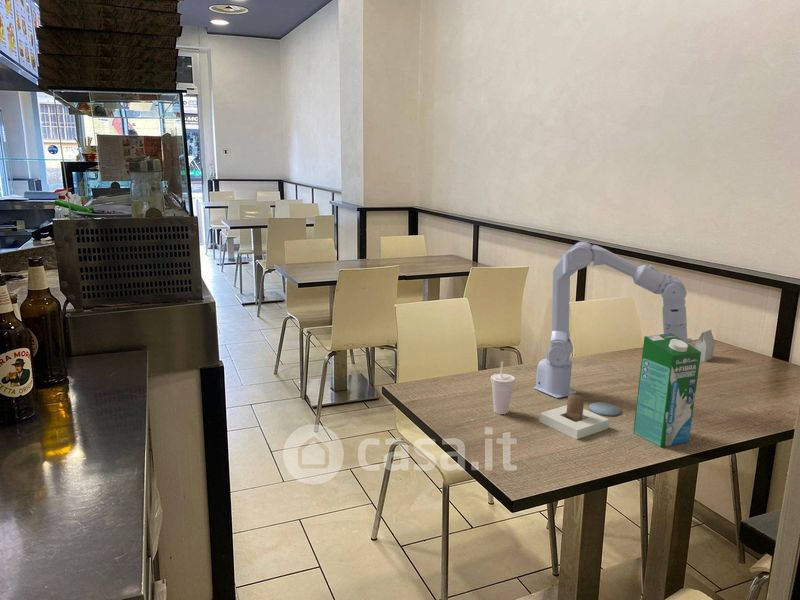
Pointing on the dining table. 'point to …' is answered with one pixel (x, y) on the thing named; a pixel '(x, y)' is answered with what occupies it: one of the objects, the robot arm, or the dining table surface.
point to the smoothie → (502, 391)
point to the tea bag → (705, 345)
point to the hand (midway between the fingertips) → (677, 372)
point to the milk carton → (666, 390)
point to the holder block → (574, 429)
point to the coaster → (604, 409)
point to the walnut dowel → (575, 408)
